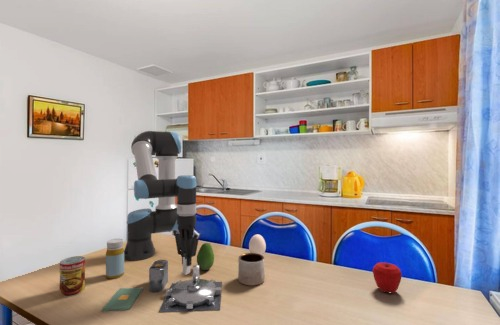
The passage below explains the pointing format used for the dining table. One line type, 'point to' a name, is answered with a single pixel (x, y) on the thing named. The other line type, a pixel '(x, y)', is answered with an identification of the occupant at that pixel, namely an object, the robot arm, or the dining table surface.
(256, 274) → the planter
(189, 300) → the sprocket
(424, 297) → the dining table surface
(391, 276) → the apple
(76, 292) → the canned food
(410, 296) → the dining table surface
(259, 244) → the egg
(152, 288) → the silver capsule block
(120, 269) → the bottle
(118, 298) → the green flat board
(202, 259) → the fruit
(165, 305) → the bearing plate
